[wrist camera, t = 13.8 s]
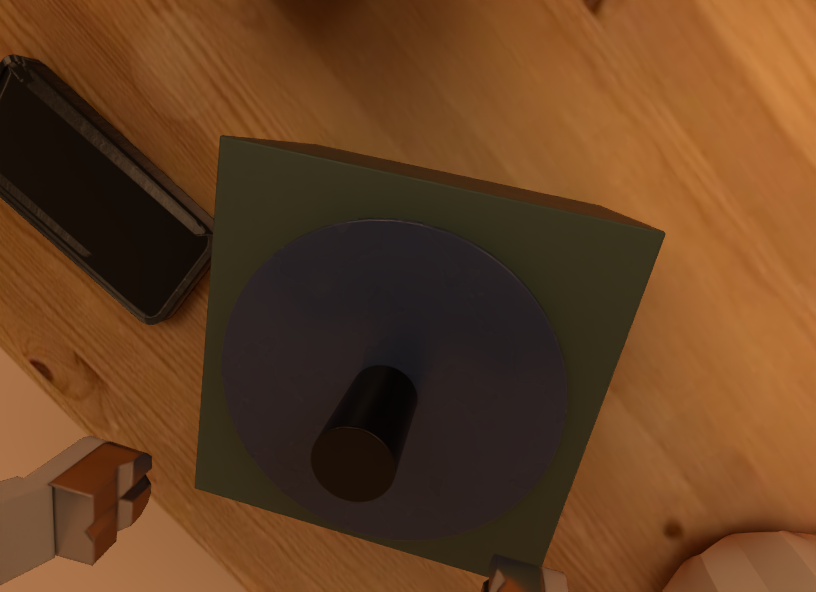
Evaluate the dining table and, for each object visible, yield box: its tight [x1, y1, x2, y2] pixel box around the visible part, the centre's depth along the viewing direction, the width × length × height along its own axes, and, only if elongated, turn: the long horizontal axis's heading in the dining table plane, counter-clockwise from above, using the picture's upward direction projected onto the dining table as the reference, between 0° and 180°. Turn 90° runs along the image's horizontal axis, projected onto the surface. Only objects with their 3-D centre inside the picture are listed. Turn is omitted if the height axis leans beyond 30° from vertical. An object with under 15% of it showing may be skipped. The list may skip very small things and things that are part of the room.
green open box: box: [195, 135, 665, 577], centre depth 22 cm, size 15×15×9 cm
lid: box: [221, 217, 568, 541], centre depth 15 cm, size 12×12×5 cm
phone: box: [0, 55, 214, 325], centre depth 27 cm, size 8×1×15 cm
